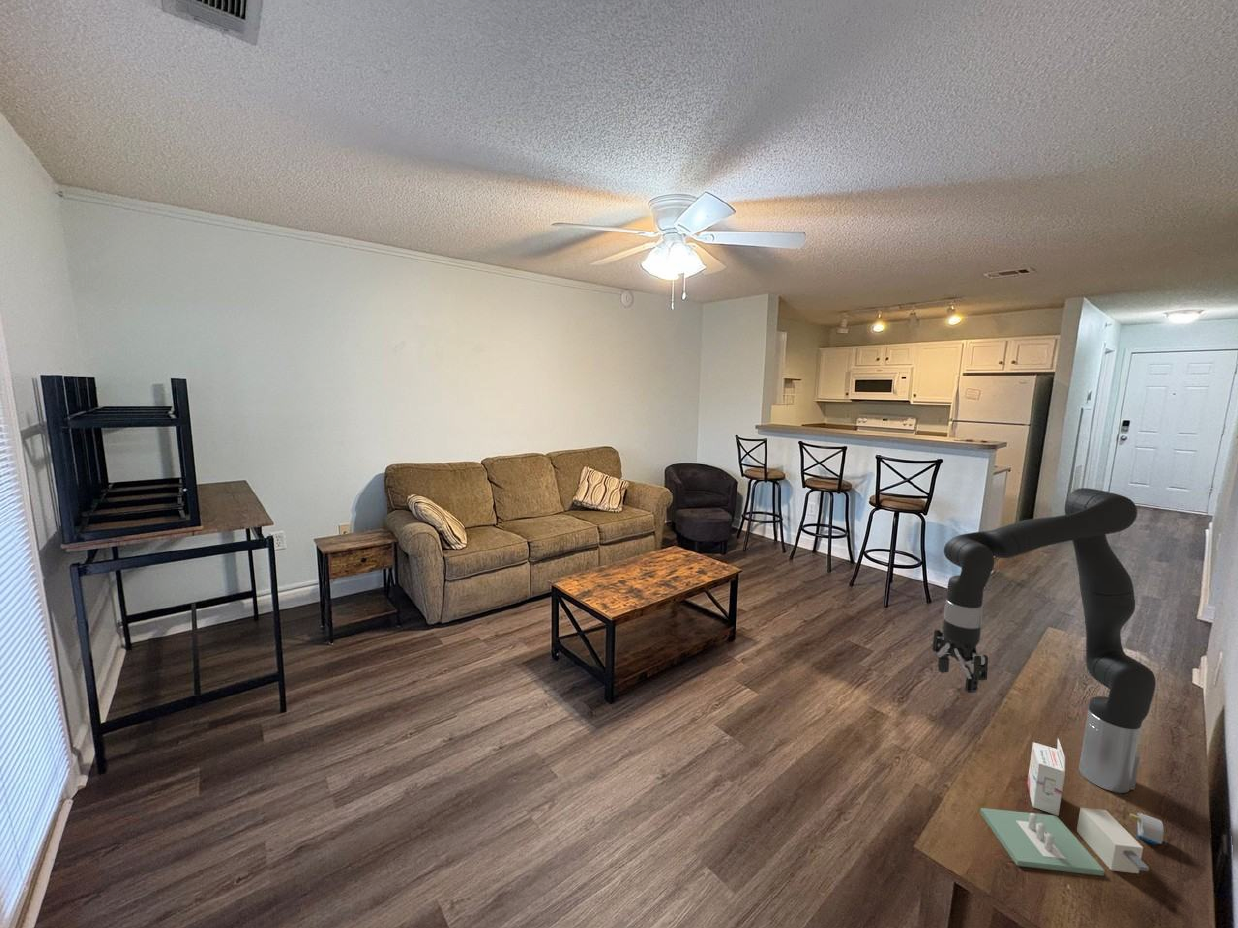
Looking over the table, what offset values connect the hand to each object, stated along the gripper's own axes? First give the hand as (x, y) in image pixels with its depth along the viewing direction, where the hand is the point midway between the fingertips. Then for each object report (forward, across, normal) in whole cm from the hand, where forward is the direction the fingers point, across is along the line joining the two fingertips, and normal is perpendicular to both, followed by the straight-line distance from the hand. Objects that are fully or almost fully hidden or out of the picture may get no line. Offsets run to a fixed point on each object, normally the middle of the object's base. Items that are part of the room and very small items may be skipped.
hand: (956, 681), depth 121 cm
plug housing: (+26, -24, -17) cm, 40 cm away
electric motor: (+27, -20, -30) cm, 45 cm away
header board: (+26, -19, -5) cm, 33 cm away
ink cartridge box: (+27, -9, -17) cm, 33 cm away
